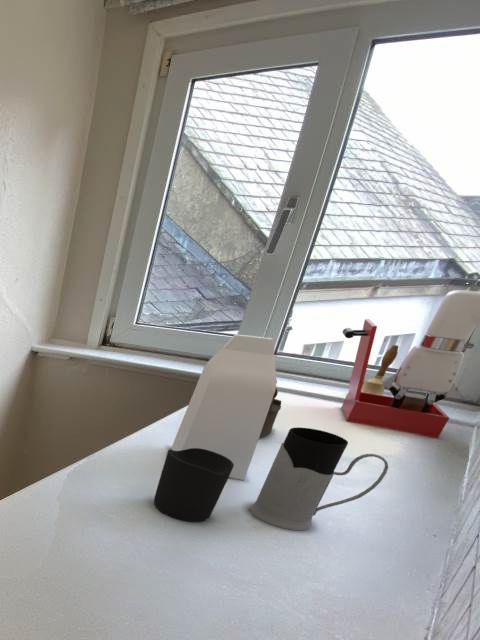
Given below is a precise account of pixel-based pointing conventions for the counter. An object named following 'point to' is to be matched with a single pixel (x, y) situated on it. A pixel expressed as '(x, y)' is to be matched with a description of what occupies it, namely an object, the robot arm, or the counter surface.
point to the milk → (231, 402)
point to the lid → (361, 355)
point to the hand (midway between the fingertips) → (404, 414)
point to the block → (412, 402)
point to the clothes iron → (271, 416)
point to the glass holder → (303, 478)
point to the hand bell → (380, 373)
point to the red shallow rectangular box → (393, 415)
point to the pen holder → (191, 483)
